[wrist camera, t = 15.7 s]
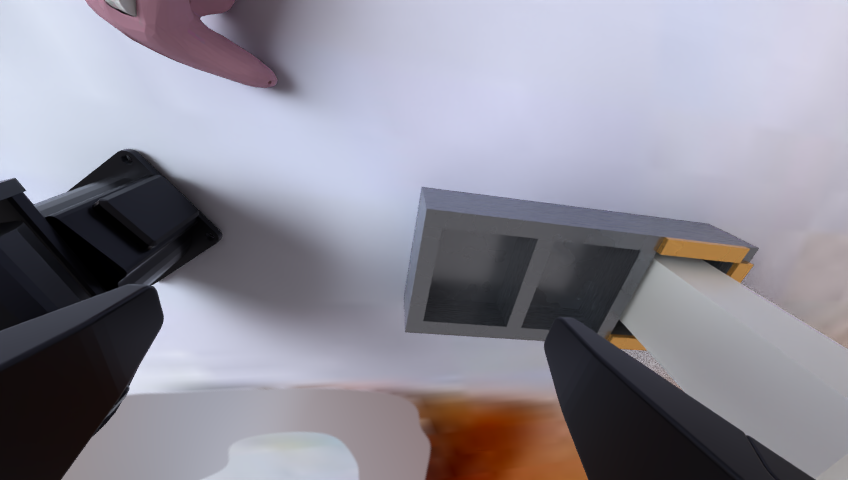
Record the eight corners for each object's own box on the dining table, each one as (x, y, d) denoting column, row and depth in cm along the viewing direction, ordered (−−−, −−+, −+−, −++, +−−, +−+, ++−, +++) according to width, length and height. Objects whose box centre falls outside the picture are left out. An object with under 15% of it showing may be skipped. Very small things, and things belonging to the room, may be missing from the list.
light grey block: (604, 303, 24) (784, 502, 13) (634, 244, 22) (883, 425, 11) (652, 306, 24) (864, 501, 13) (685, 249, 22) (974, 426, 11)
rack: (403, 297, 23) (405, 335, 20) (421, 186, 20) (427, 210, 16) (651, 317, 26) (688, 353, 23) (709, 223, 22) (764, 250, 19)
